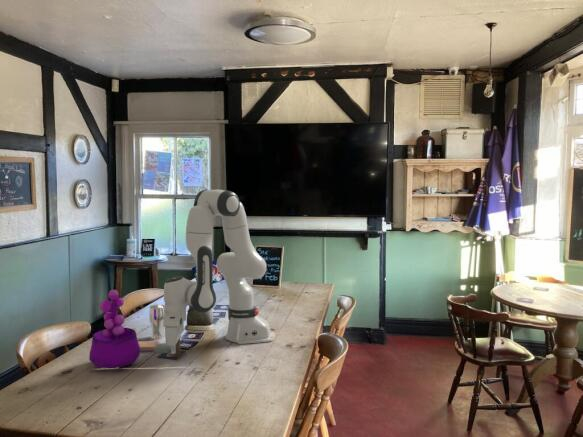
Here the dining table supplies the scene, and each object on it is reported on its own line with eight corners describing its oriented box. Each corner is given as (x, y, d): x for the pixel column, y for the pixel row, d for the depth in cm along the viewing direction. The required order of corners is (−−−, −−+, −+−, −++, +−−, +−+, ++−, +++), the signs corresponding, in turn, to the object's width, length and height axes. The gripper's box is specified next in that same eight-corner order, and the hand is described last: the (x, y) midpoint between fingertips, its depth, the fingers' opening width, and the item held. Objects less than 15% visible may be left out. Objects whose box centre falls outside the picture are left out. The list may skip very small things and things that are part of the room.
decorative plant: (91, 378, 177) (89, 298, 174) (87, 360, 193) (85, 287, 190) (144, 368, 185) (142, 292, 182) (136, 352, 202) (134, 282, 199)
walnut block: (180, 354, 200) (180, 336, 199) (179, 357, 197) (178, 338, 196) (172, 355, 200) (172, 336, 199) (171, 357, 196) (170, 338, 196)
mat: (174, 344, 212) (174, 343, 211) (169, 354, 200) (169, 353, 200) (132, 345, 210) (132, 343, 210) (125, 355, 199) (125, 353, 199)
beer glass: (161, 341, 215) (160, 308, 214) (147, 340, 216) (146, 308, 215) (168, 336, 222) (167, 304, 220) (154, 335, 223) (153, 303, 222)
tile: (158, 341, 209) (137, 341, 208) (154, 346, 202) (132, 347, 201) (158, 345, 209) (137, 345, 208) (154, 351, 202) (132, 351, 201)
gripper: (172, 309, 207) (172, 340, 208) (162, 323, 186) (162, 358, 188) (186, 308, 207) (187, 340, 208) (178, 323, 187) (179, 358, 188)
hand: (175, 349), depth 198 cm, fingers open, 8 cm apart
